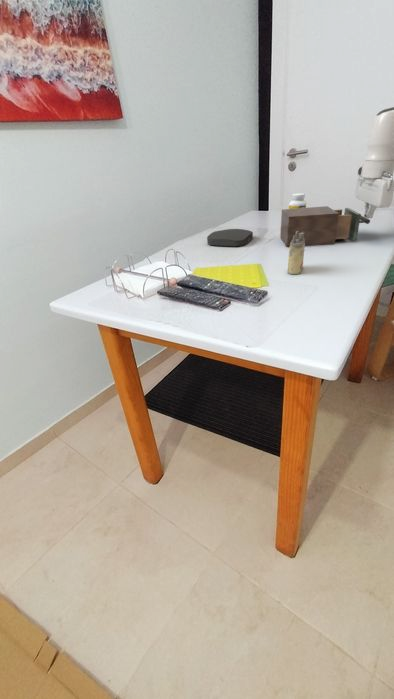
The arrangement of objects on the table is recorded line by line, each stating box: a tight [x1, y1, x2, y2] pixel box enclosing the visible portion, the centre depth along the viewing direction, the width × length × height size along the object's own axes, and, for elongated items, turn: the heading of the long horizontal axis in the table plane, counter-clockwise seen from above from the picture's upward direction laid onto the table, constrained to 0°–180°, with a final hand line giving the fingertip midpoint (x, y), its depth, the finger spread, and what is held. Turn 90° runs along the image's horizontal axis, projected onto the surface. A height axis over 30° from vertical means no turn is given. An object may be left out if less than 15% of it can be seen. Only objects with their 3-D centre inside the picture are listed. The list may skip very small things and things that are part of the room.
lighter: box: [286, 231, 306, 275], centre depth 90 cm, size 7×4×10 cm, turn 157°
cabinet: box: [279, 205, 339, 248], centre depth 114 cm, size 16×13×10 cm
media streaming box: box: [206, 228, 254, 247], centre depth 122 cm, size 15×15×3 cm
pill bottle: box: [288, 192, 307, 209], centre depth 133 cm, size 6×6×12 cm
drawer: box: [333, 207, 371, 240], centre depth 113 cm, size 19×11×8 cm, turn 88°
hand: (368, 217), depth 112 cm, fingers closed, pressing on drawer
